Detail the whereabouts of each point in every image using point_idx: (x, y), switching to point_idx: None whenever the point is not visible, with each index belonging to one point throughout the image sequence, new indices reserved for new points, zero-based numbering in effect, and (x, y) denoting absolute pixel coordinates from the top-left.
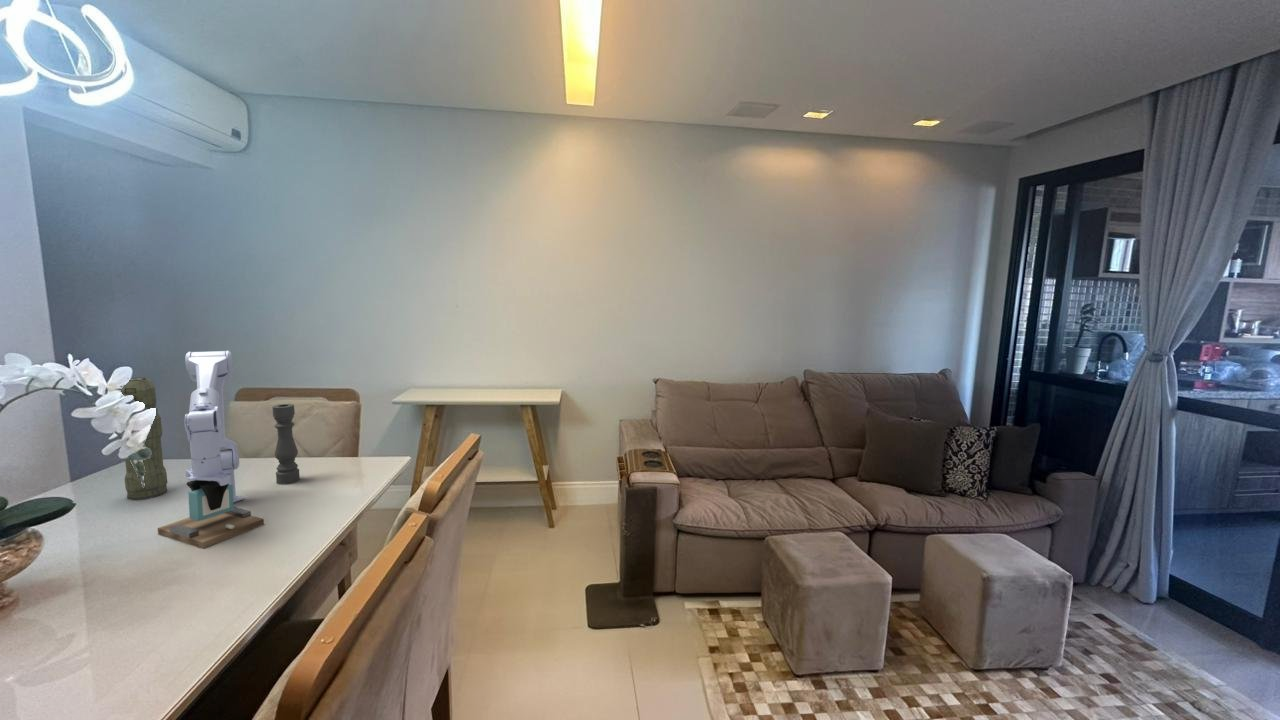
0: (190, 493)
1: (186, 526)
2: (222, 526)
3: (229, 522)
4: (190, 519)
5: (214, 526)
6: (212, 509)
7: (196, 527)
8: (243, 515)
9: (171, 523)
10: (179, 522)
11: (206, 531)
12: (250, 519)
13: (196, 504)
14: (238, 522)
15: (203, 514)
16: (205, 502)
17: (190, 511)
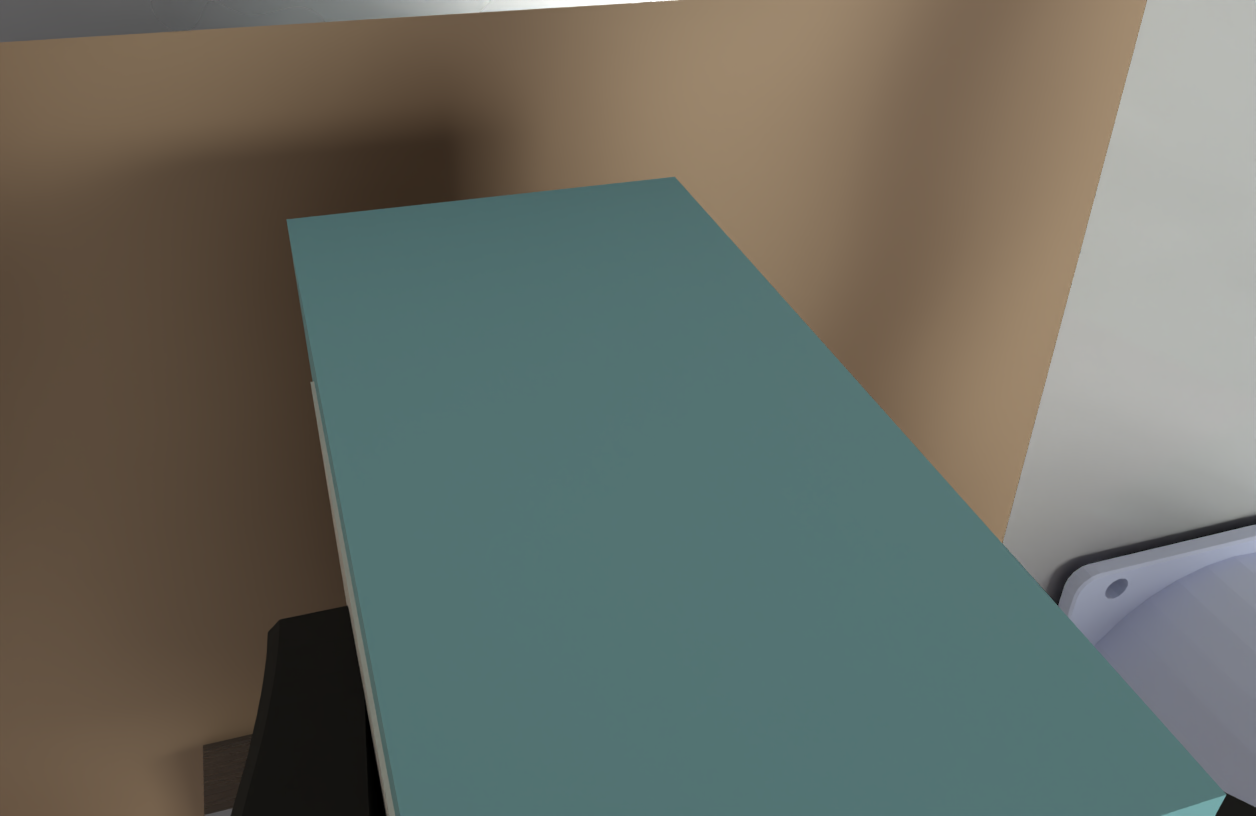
0: (1028, 796)
1: (543, 7)
2: (92, 458)
3: (200, 581)
4: (974, 266)
5: (245, 375)
6: (270, 648)
7: (524, 170)
8: (204, 794)
9: (1138, 18)
10: (1040, 112)
11: (76, 186)
12: (16, 805)
13: (431, 532)
14: (50, 668)
15: (319, 416)
16: (375, 747)
17: (705, 280)
